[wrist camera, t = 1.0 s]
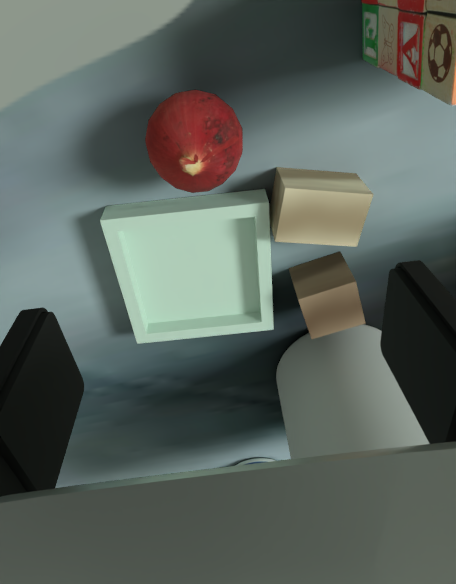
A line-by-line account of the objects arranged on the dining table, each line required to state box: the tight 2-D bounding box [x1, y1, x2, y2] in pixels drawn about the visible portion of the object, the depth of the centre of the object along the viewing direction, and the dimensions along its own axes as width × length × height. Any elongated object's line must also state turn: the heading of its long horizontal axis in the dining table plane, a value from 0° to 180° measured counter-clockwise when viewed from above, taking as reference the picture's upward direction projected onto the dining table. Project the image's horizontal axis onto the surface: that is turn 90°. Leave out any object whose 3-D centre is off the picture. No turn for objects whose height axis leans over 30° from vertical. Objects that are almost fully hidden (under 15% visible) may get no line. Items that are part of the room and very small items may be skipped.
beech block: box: [269, 167, 373, 247], centre depth 30 cm, size 4×6×4 cm, turn 84°
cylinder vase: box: [276, 324, 430, 459], centre depth 33 cm, size 12×12×25 cm
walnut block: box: [289, 252, 365, 339], centre depth 35 cm, size 4×4×4 cm
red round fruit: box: [145, 90, 242, 193], centre depth 25 cm, size 6×6×8 cm
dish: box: [100, 189, 274, 344], centre depth 34 cm, size 12×12×2 cm
